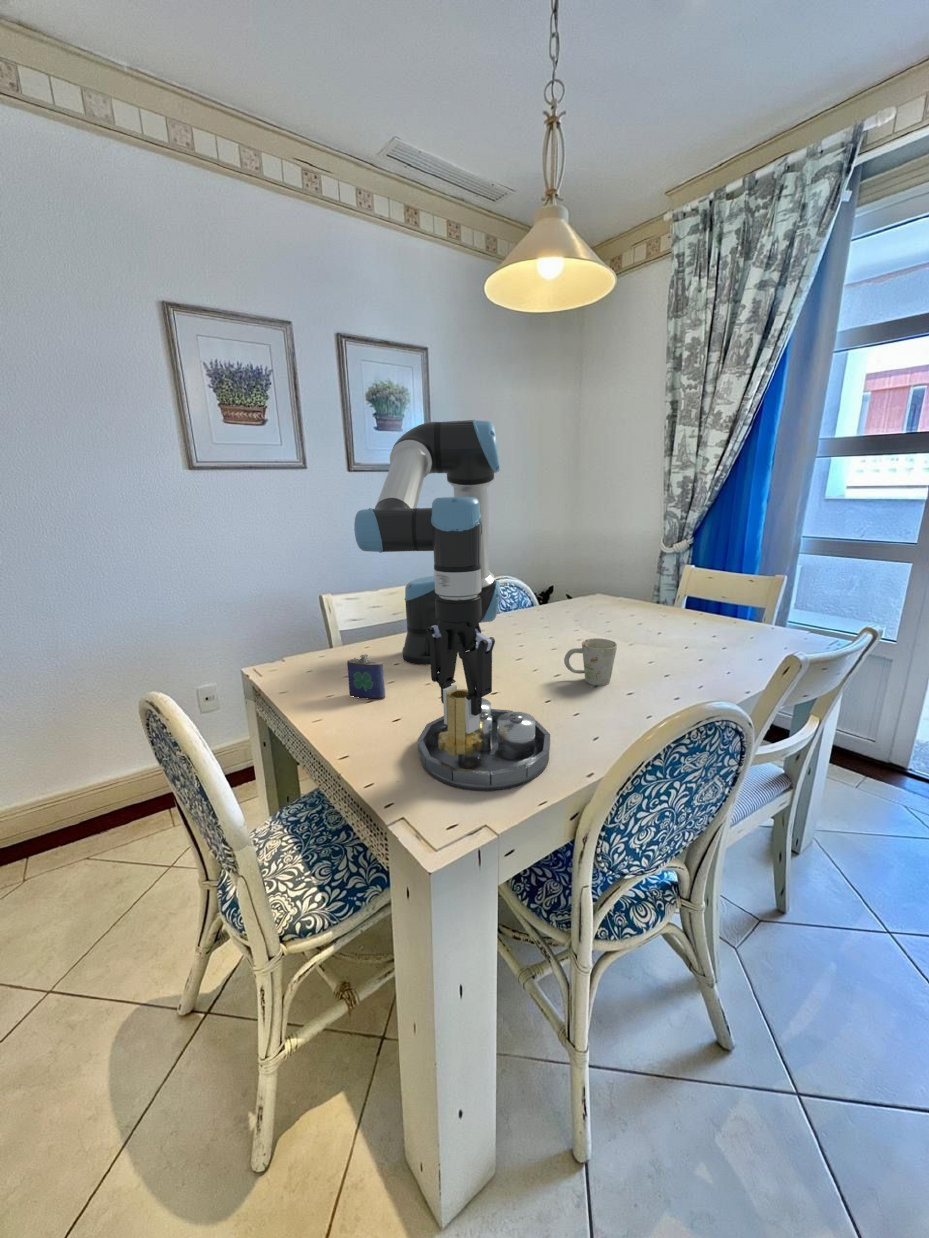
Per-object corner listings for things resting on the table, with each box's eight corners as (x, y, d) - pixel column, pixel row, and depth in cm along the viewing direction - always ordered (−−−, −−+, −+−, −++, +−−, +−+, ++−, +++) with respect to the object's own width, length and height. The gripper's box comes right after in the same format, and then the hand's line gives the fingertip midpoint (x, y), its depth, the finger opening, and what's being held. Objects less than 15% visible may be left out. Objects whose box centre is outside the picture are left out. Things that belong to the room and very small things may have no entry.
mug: (616, 688, 119) (618, 649, 117) (563, 685, 122) (564, 647, 119) (613, 675, 127) (615, 638, 124) (563, 673, 130) (564, 637, 127)
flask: (387, 696, 118) (384, 653, 115) (382, 701, 115) (378, 658, 113) (352, 692, 121) (348, 651, 118) (346, 697, 118) (342, 655, 115)
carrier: (393, 756, 91) (390, 717, 89) (477, 712, 108) (477, 678, 106) (493, 810, 76) (493, 764, 74) (573, 748, 93) (575, 709, 91)
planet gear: (429, 745, 86) (428, 694, 84) (459, 730, 92) (459, 682, 89) (461, 760, 81) (461, 707, 79) (491, 744, 86) (491, 694, 84)
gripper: (404, 592, 83) (411, 718, 89) (484, 607, 71) (486, 751, 77) (436, 585, 88) (441, 704, 94) (515, 597, 77) (514, 733, 83)
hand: (461, 725), depth 86 cm, fingers closed on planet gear, 4 cm apart
